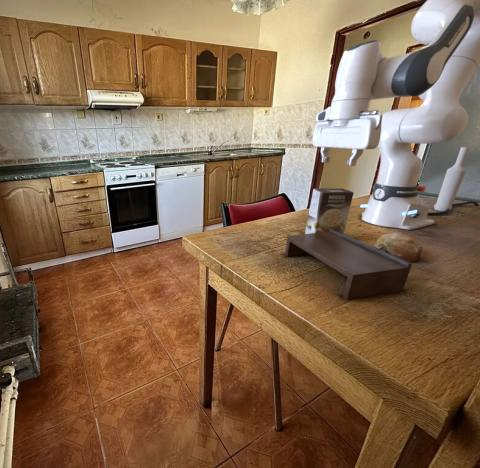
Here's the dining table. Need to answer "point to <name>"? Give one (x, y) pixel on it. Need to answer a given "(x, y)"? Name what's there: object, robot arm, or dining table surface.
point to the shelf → (353, 262)
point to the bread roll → (400, 246)
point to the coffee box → (328, 210)
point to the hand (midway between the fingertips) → (337, 164)
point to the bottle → (451, 183)
